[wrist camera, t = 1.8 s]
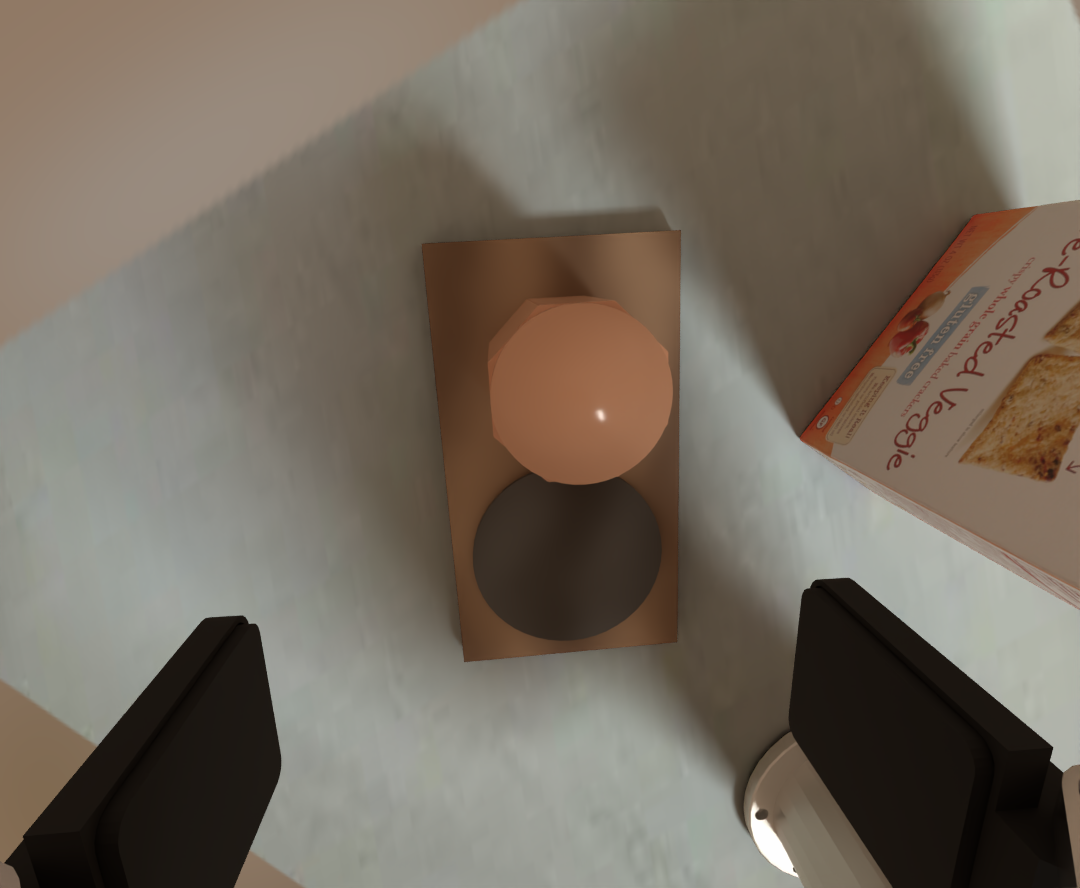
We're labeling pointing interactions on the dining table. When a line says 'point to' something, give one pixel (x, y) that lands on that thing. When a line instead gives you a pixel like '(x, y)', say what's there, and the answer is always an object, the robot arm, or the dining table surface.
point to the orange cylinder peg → (578, 388)
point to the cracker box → (979, 398)
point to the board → (526, 498)
